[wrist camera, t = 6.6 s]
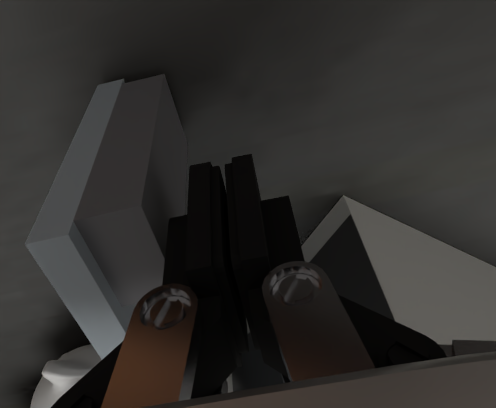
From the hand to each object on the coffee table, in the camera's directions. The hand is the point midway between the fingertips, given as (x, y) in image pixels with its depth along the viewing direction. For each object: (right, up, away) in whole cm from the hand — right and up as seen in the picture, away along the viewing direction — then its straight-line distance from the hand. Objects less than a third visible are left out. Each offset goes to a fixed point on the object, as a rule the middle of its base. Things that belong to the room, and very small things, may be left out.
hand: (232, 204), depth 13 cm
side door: (-2, -2, +9) cm, 10 cm away
